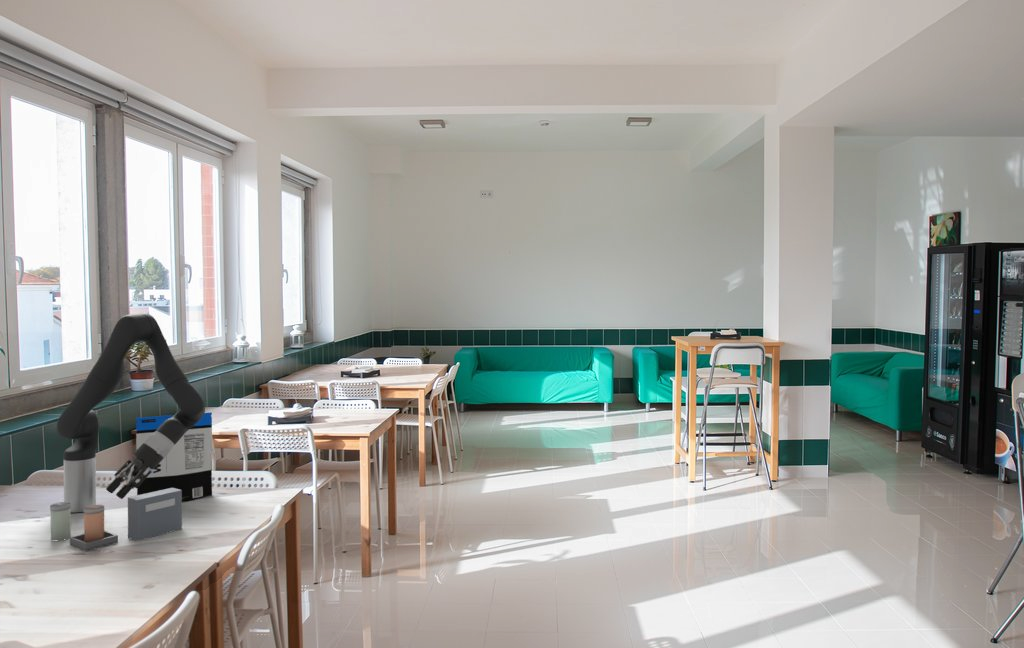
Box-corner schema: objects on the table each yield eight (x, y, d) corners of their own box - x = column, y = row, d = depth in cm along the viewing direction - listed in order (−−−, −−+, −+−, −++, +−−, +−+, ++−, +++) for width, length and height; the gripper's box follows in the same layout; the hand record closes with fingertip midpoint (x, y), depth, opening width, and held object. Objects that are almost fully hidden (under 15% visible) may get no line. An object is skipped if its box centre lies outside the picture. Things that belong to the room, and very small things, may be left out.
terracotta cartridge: (80, 542, 210) (80, 507, 210) (99, 537, 215) (98, 503, 214) (89, 545, 207) (89, 510, 207) (108, 540, 212) (108, 506, 211)
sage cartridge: (47, 538, 215) (46, 505, 215) (65, 534, 219) (65, 501, 219) (55, 542, 212) (55, 508, 212) (74, 537, 216) (74, 503, 216)
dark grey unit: (127, 537, 217) (127, 497, 216) (171, 525, 228) (171, 487, 228) (138, 541, 214) (137, 500, 213) (182, 528, 225) (182, 490, 225)
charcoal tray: (69, 545, 210) (69, 537, 210) (101, 536, 217) (101, 529, 217) (85, 551, 205) (85, 543, 205) (118, 542, 212) (118, 535, 212)
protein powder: (214, 498, 260) (214, 414, 259) (138, 508, 247) (137, 419, 246) (209, 492, 268) (209, 410, 267) (135, 501, 255) (134, 415, 254)
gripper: (136, 439, 225) (95, 482, 217) (154, 445, 215) (112, 491, 207) (154, 453, 229) (115, 496, 221) (172, 461, 219) (132, 506, 211)
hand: (113, 494), depth 214 cm, fingers open, 8 cm apart
